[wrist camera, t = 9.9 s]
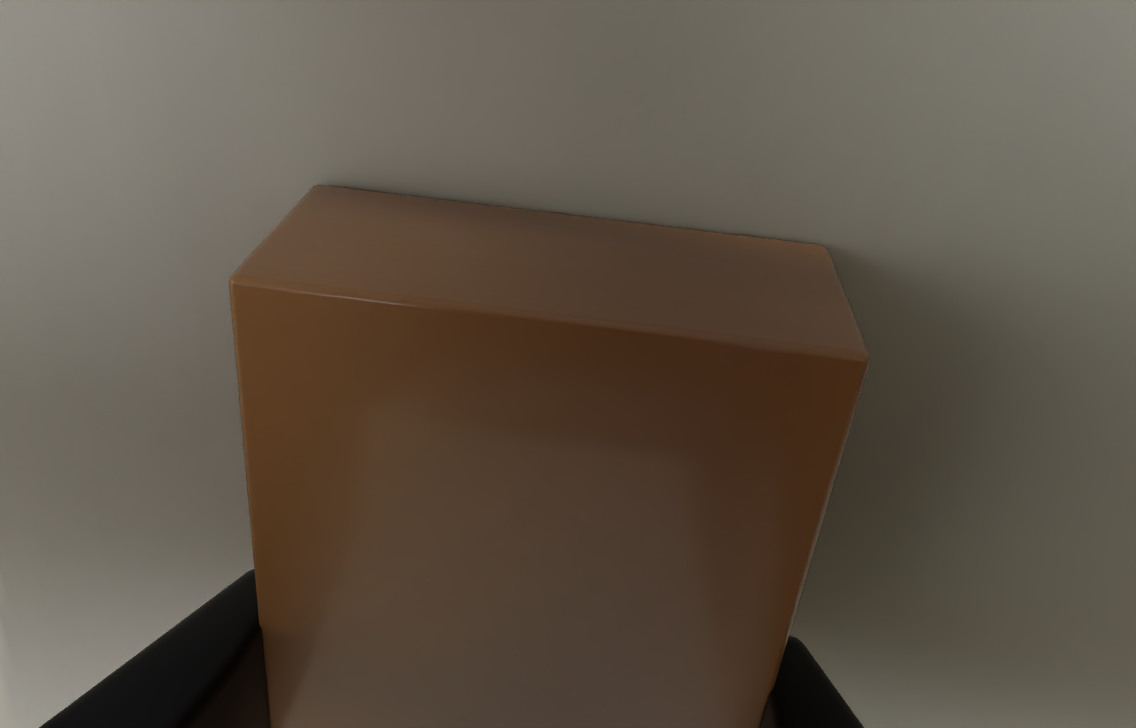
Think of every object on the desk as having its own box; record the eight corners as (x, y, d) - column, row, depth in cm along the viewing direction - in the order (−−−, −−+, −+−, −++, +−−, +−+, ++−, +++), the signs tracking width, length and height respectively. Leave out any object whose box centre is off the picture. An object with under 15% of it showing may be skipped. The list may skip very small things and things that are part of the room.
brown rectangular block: (336, 774, 12) (284, 930, 11) (313, 181, 8) (223, 277, 7) (683, 820, 12) (688, 985, 11) (828, 243, 8) (874, 356, 7)
